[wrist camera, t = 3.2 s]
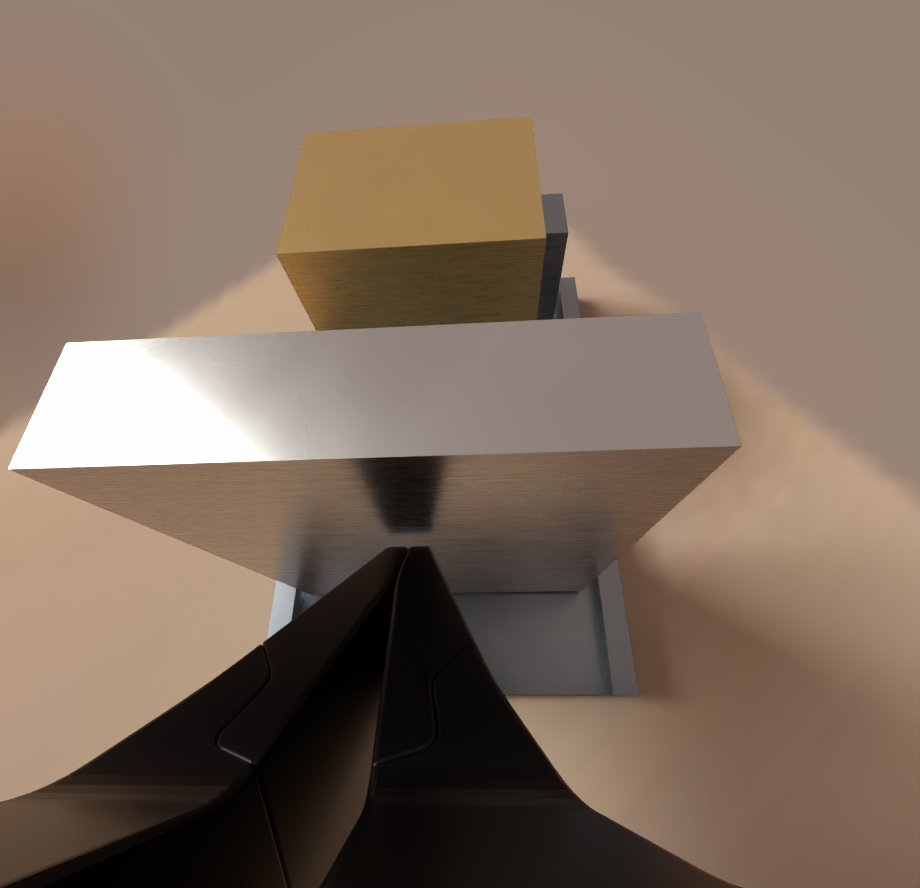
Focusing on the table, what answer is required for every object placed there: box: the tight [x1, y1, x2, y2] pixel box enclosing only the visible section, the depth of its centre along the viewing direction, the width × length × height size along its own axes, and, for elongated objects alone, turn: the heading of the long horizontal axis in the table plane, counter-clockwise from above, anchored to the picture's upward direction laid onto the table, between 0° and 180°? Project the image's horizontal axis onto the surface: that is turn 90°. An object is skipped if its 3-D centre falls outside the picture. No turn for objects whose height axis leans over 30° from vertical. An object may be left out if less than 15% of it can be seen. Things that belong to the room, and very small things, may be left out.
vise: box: [267, 194, 639, 696], centre depth 16 cm, size 16×11×5 cm
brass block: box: [276, 117, 546, 331], centre depth 15 cm, size 4×6×9 cm
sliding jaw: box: [8, 312, 741, 595], centre depth 11 cm, size 2×9×11 cm, turn 90°
